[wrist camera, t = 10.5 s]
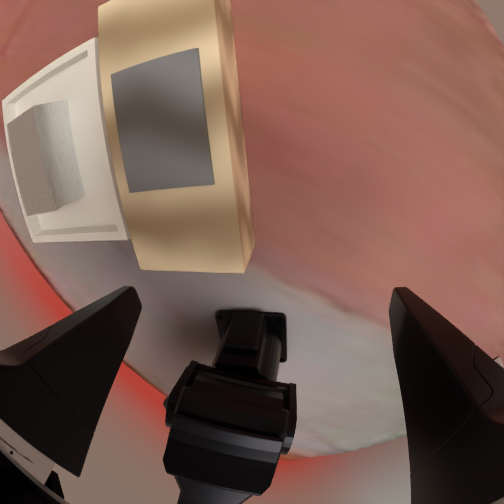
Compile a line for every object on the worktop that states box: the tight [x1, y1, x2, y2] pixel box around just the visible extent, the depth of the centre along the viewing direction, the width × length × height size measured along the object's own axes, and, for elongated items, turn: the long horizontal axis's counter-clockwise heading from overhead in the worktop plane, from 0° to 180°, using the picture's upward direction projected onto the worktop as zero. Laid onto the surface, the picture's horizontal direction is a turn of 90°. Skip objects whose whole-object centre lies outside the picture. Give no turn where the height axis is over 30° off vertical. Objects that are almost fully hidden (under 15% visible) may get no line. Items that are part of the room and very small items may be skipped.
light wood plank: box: [98, 0, 255, 273], centre depth 16 cm, size 20×8×4 cm, turn 5°
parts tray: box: [2, 37, 131, 243], centre depth 19 cm, size 17×15×2 cm
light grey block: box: [7, 100, 85, 216], centre depth 18 cm, size 9×5×4 cm, turn 5°
